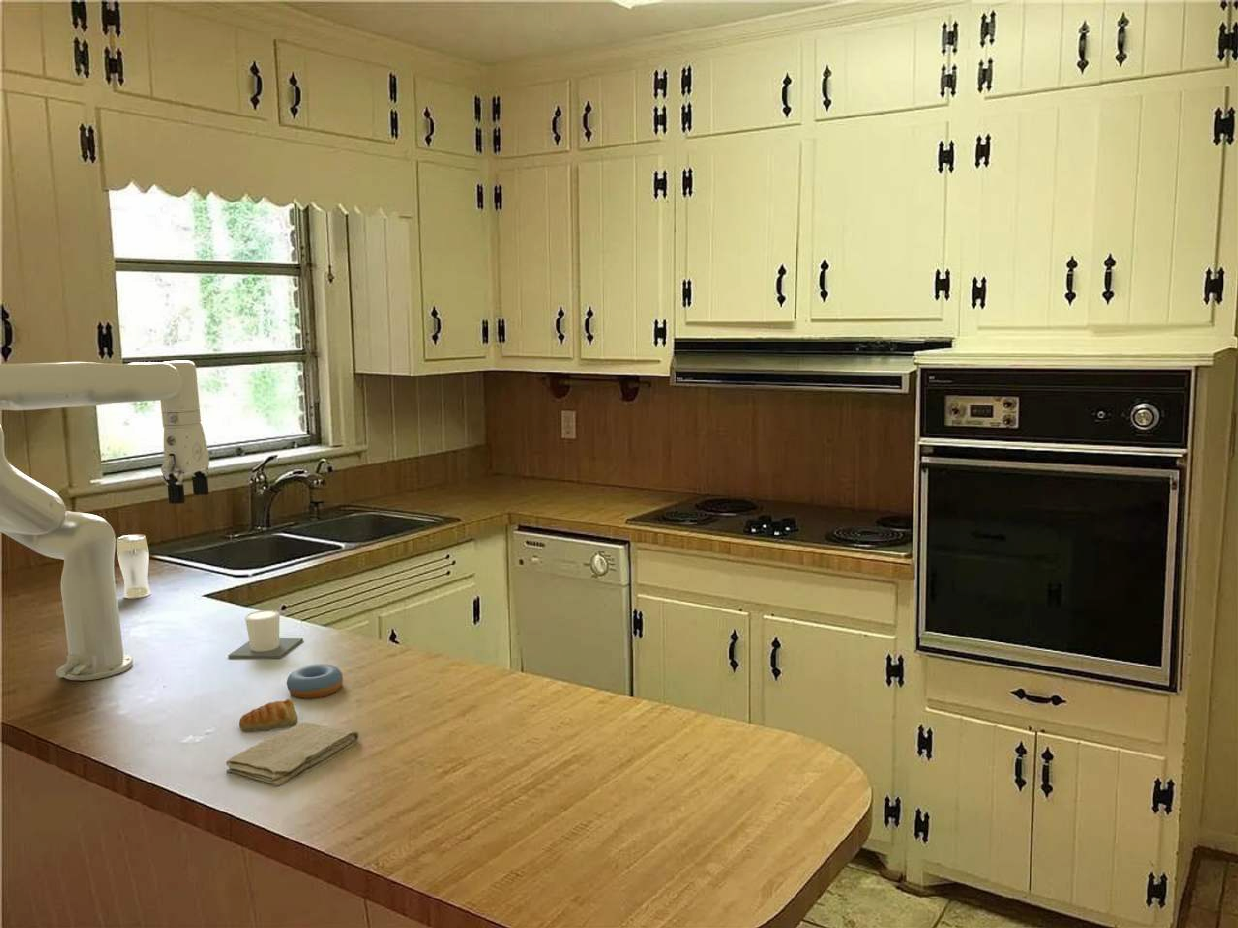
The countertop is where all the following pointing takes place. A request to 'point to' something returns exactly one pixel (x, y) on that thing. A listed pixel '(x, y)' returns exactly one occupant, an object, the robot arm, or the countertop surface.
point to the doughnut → (314, 681)
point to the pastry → (270, 716)
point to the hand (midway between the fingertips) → (189, 498)
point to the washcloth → (291, 753)
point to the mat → (277, 653)
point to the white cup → (263, 630)
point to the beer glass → (134, 565)
